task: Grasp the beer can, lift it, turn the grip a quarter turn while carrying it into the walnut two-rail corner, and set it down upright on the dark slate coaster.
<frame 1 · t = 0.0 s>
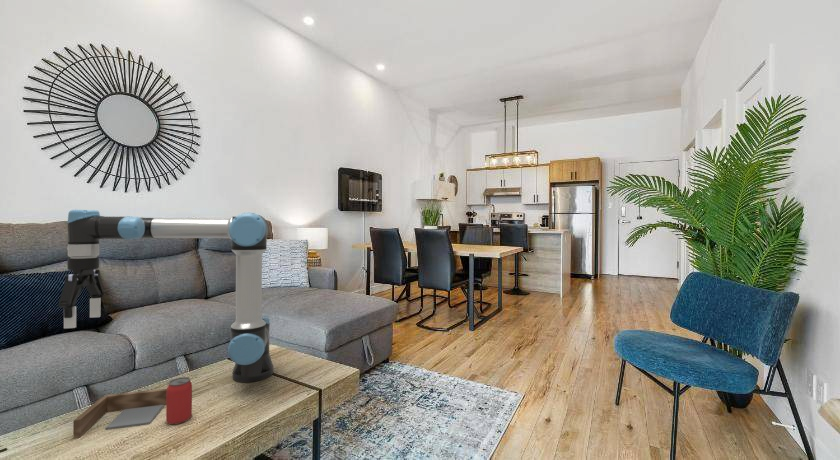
hand: (83, 322, 116), 28 cm above the table, fingers open, 13 cm apart
beer can: (179, 420, 110), on the table
wooden corner frame: (105, 411, 114), on the table
coaster: (136, 417, 111), on the table
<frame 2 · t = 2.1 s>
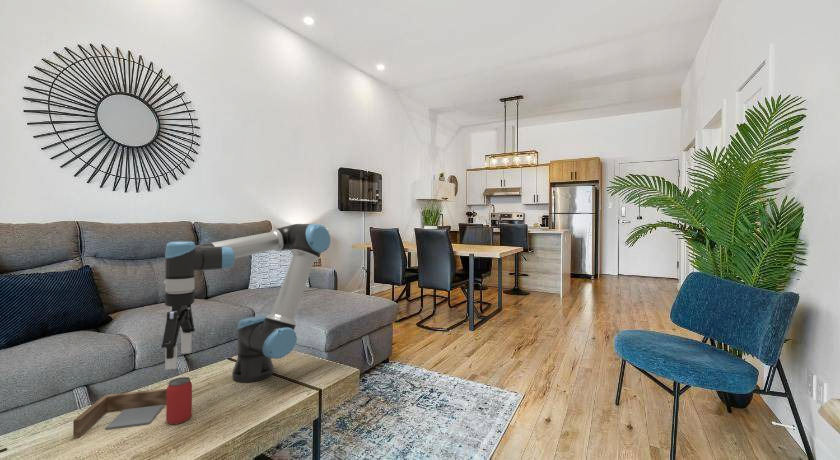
hand: (179, 360, 110), 18 cm above the table, fingers open, 13 cm apart
nothing on the table moved.
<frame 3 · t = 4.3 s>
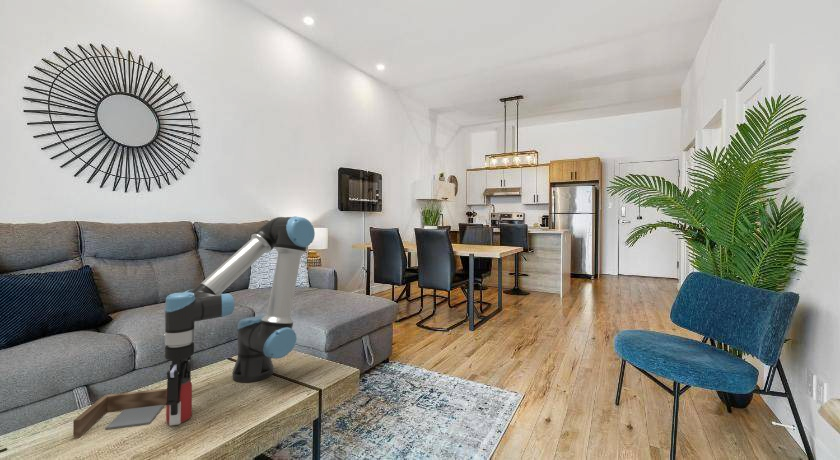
hand: (179, 417, 110), 0 cm above the table, fingers closed on beer can, 6 cm apart
beer can: (179, 420, 110), on the table, touching gripper
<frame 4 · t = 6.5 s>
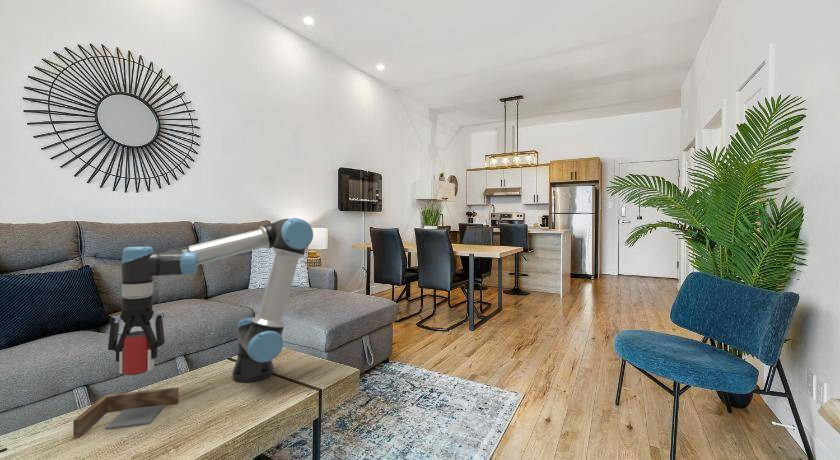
hand: (137, 370, 111), 15 cm above the table, fingers closed on beer can, 6 cm apart
beer can: (136, 372, 111), point 14 cm above the table, touching gripper
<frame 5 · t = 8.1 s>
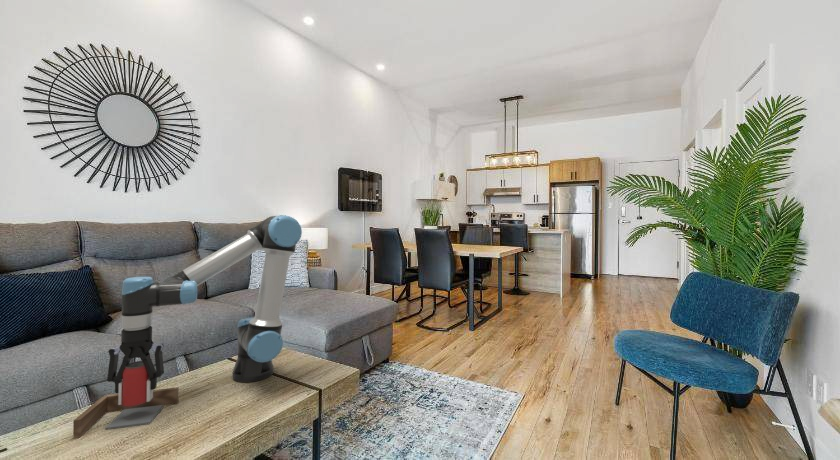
hand: (136, 401, 111), 5 cm above the table, fingers closed on beer can, 6 cm apart
beer can: (135, 403, 111), point 4 cm above the table, touching gripper
when the fingers open (2 cm above the table, at t = 9.0 s): beer can drops 1 cm, resting on coaster.
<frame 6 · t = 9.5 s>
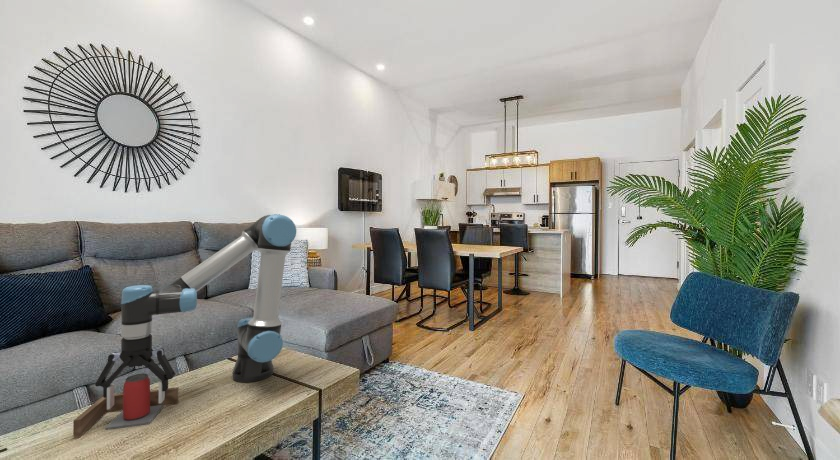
hand: (136, 404, 111), 4 cm above the table, fingers open, 13 cm apart
beer can: (136, 416, 111), resting on coaster
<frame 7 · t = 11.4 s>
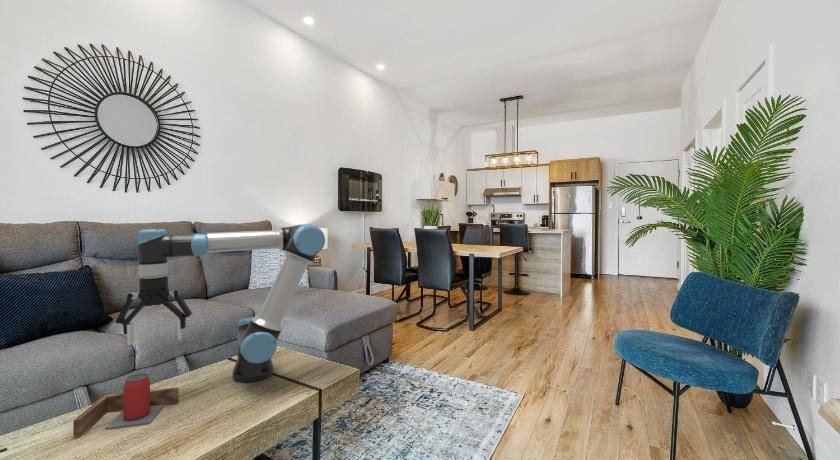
hand: (156, 341, 117), 22 cm above the table, fingers open, 13 cm apart
nothing on the table moved.
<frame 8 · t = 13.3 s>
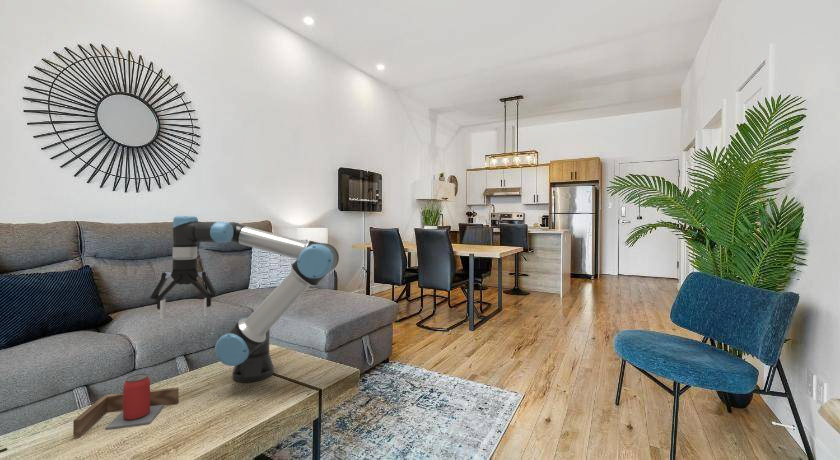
hand: (184, 317, 129), 27 cm above the table, fingers open, 13 cm apart
nothing on the table moved.
at the end: beer can 0.1 cm from the coaster (horizontally); beer can tilted 0°; the gripper is holding nothing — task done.
